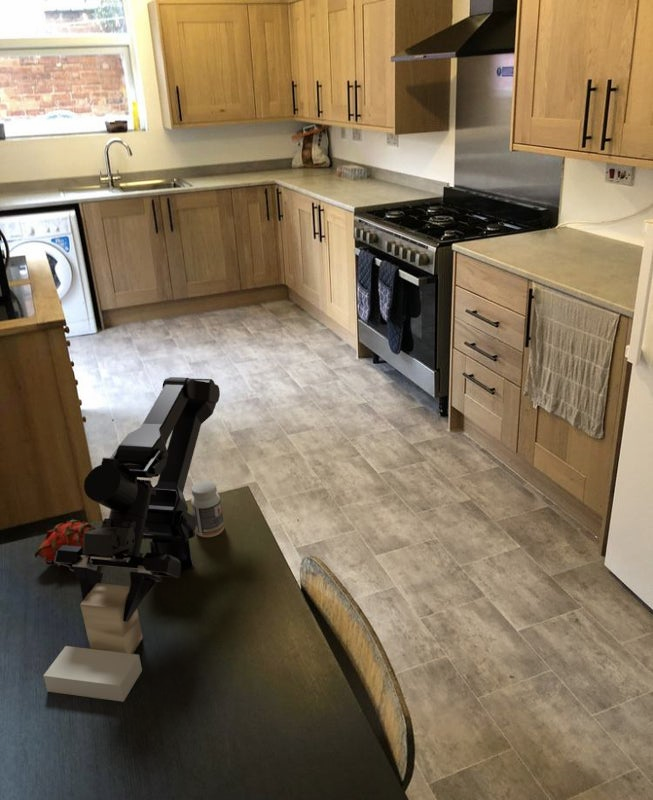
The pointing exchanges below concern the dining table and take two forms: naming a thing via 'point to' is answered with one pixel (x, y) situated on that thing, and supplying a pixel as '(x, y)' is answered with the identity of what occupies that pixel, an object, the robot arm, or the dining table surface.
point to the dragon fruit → (62, 539)
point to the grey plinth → (93, 673)
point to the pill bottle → (207, 509)
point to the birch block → (110, 619)
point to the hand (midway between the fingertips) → (106, 619)
